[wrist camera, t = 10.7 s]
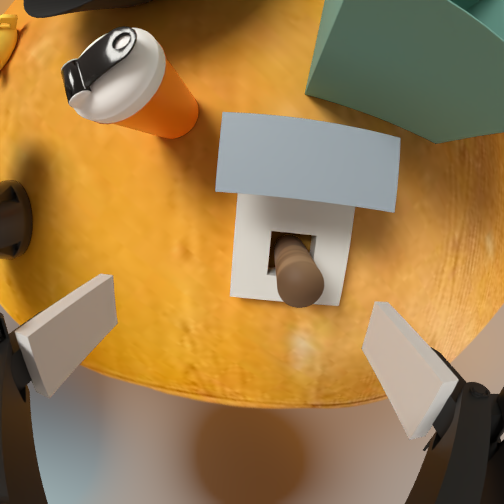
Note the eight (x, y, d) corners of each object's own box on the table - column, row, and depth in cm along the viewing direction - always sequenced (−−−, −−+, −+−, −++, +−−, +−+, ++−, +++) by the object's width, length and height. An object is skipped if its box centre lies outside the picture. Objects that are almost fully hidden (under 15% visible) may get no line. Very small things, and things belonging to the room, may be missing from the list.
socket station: (226, 285, 38) (208, 329, 26) (237, 136, 34) (222, 112, 22) (339, 296, 38) (366, 341, 26) (359, 151, 33) (400, 137, 21)
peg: (275, 232, 36) (280, 260, 23) (305, 236, 36) (327, 265, 23) (272, 262, 37) (274, 305, 24) (301, 265, 37) (320, 309, 24)
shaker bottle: (218, 119, 33) (167, 54, 14) (164, 158, 35) (70, 139, 15) (185, 74, 32) (120, -3, 12) (134, 112, 33) (40, 70, 14)
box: (435, 144, 32) (577, 125, 7) (304, 94, 32) (360, -41, 7) (440, 31, 26) (525, -31, 1) (328, -16, 27) (361, -125, 1)
